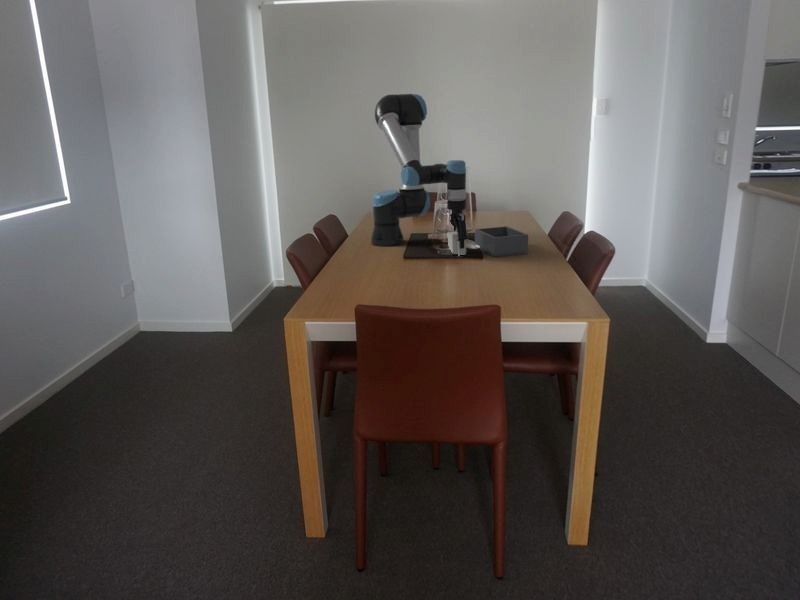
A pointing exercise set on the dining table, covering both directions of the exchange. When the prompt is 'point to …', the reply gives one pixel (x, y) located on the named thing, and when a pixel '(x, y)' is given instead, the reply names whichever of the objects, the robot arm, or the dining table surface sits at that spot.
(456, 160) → the robot arm
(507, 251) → the bin
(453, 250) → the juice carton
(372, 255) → the dining table surface
